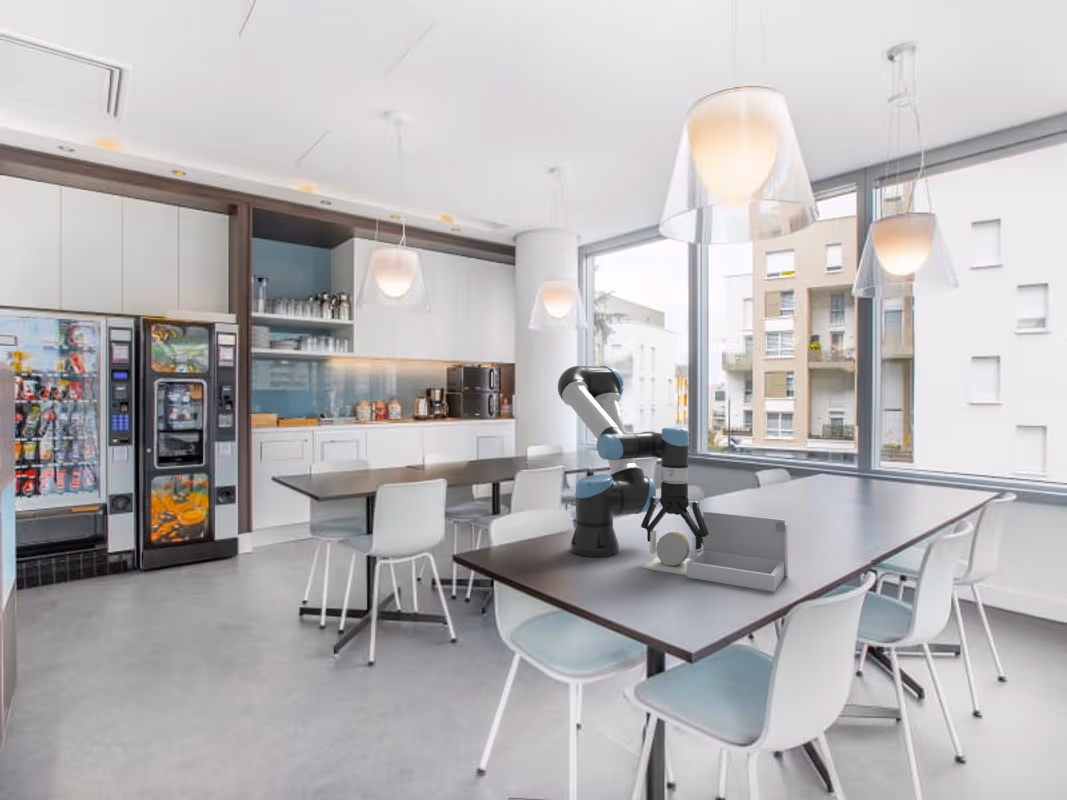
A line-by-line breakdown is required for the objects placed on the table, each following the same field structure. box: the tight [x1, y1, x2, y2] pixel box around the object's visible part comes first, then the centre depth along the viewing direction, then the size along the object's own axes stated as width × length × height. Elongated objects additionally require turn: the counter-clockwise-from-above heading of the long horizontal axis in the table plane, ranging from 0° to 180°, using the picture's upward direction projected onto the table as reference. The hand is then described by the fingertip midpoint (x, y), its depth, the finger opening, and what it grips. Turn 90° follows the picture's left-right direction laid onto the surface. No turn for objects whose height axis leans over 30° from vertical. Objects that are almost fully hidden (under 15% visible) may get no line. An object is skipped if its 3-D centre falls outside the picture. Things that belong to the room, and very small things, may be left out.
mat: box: [643, 556, 706, 576], centre depth 164 cm, size 14×14×1 cm
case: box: [686, 510, 789, 593], centre depth 154 cm, size 23×16×15 cm
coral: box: [656, 531, 691, 566], centre depth 163 cm, size 10×10×10 cm
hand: (673, 556), depth 164 cm, fingers open, 12 cm apart
